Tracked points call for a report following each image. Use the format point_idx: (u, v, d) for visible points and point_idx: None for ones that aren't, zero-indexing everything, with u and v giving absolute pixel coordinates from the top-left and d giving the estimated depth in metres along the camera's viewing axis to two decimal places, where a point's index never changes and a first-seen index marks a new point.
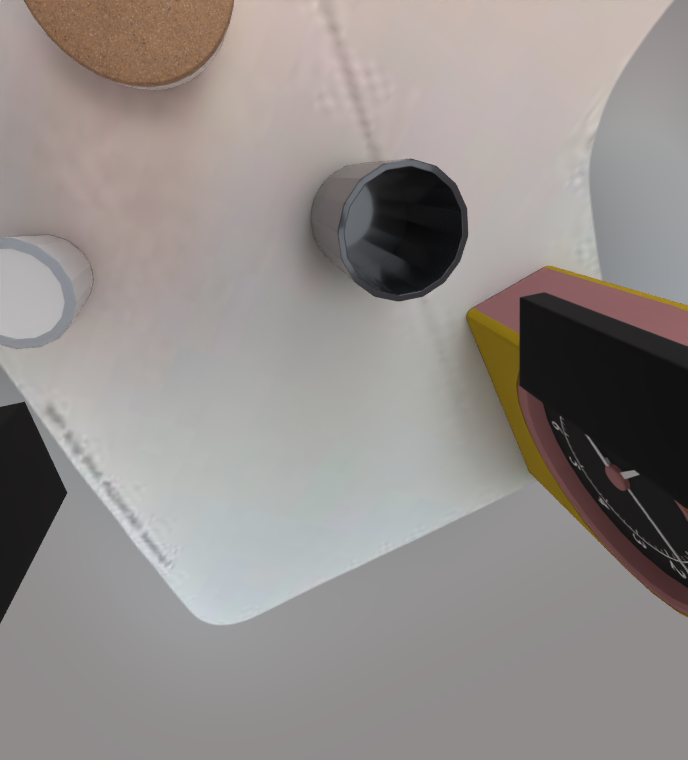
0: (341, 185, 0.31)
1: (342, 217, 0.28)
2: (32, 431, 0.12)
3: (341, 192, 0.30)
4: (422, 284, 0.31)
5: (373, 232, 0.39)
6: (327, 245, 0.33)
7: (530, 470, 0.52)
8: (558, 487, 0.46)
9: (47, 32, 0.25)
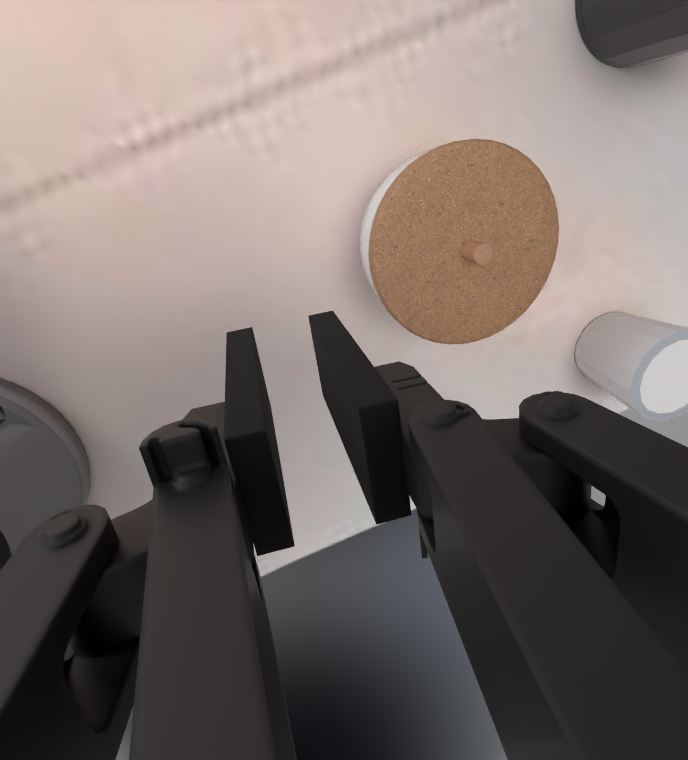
0: (681, 15, 0.25)
1: None
2: (257, 351, 0.15)
3: None
4: None
5: None
6: None
7: None
8: None
9: (513, 321, 0.29)
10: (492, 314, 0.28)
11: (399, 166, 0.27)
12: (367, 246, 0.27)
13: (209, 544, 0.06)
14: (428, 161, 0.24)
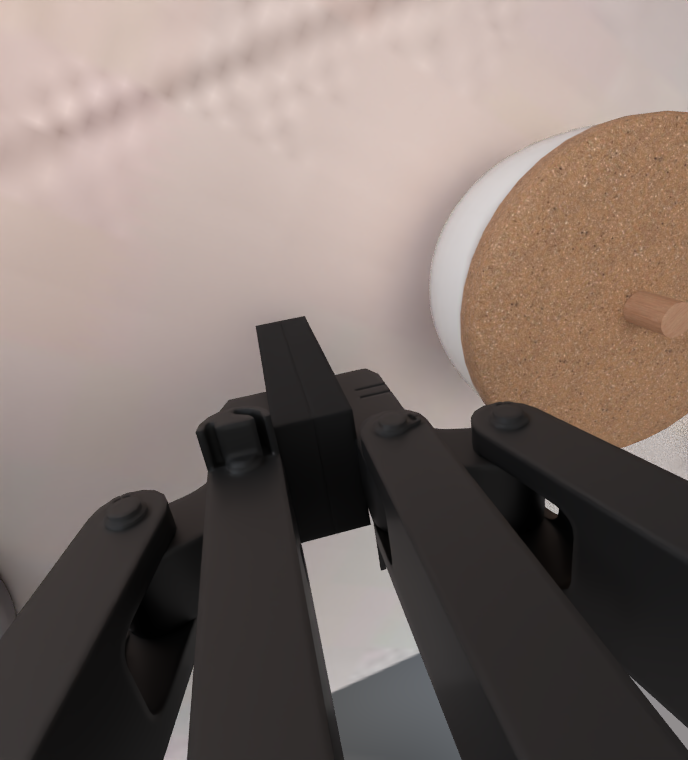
0: None
1: None
2: None
3: None
4: None
5: None
6: None
7: None
8: None
9: (684, 415, 0.18)
10: (656, 407, 0.17)
11: (509, 161, 0.16)
12: (455, 298, 0.16)
13: (262, 529, 0.07)
14: (586, 151, 0.13)
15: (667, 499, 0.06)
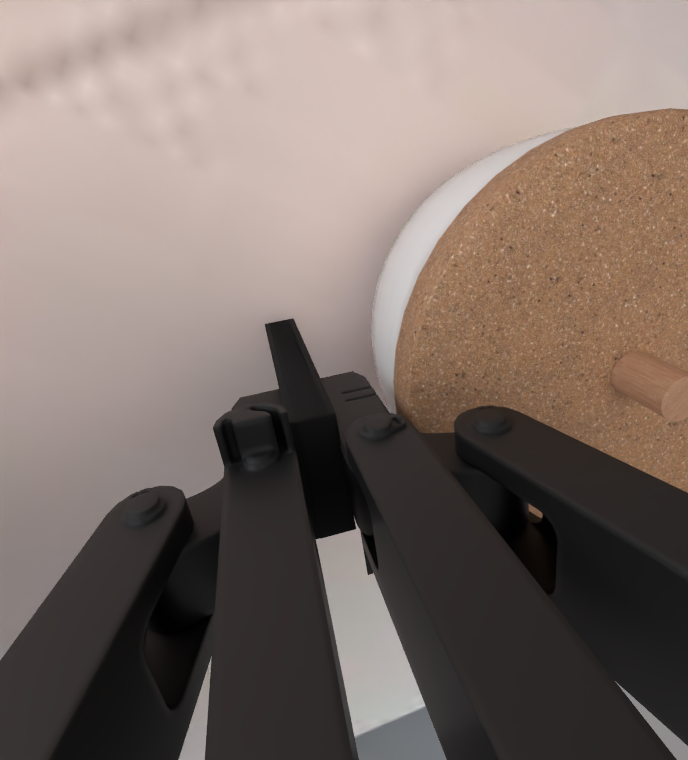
0: None
1: None
2: None
3: None
4: None
5: None
6: None
7: None
8: None
9: None
10: None
11: (460, 177, 0.12)
12: (390, 358, 0.12)
13: (279, 526, 0.07)
14: (554, 168, 0.09)
15: (649, 503, 0.06)
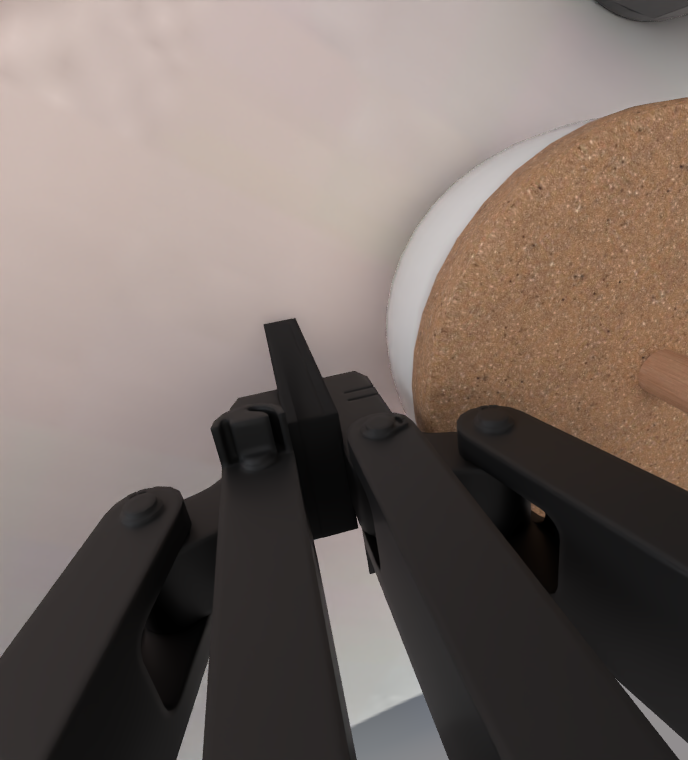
0: None
1: None
2: None
3: None
4: None
5: None
6: None
7: None
8: None
9: None
10: None
11: (476, 173, 0.12)
12: (407, 361, 0.12)
13: (276, 526, 0.07)
14: (577, 161, 0.09)
15: (651, 503, 0.06)
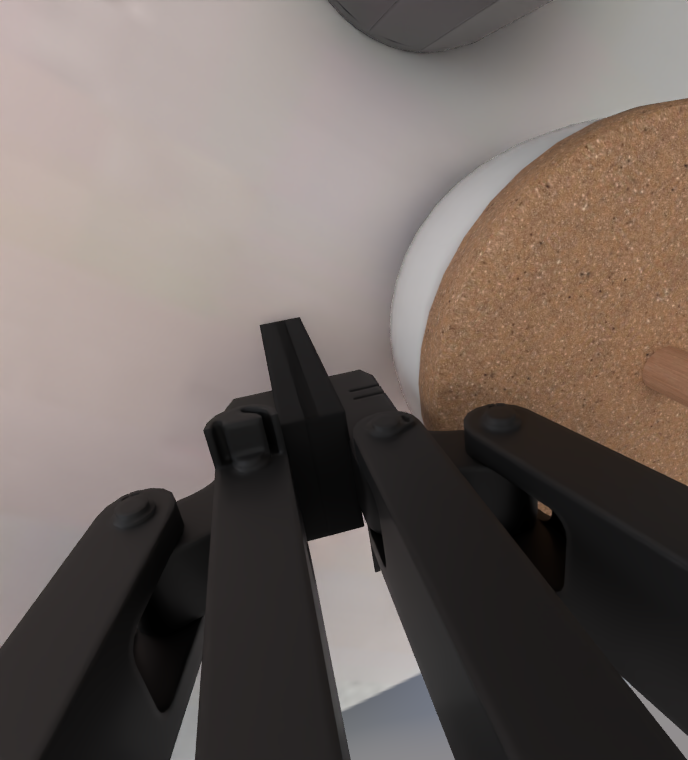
0: None
1: None
2: None
3: None
4: None
5: None
6: None
7: None
8: None
9: None
10: None
11: (482, 172, 0.12)
12: (414, 359, 0.12)
13: (270, 527, 0.07)
14: (585, 160, 0.09)
15: (659, 501, 0.06)
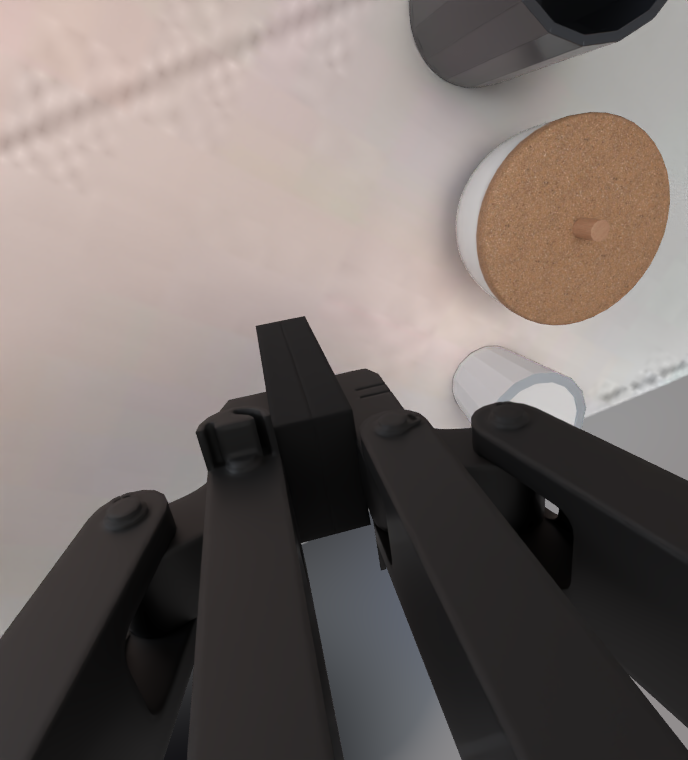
0: (485, 36, 0.22)
1: (565, 36, 0.19)
2: None
3: (506, 36, 0.21)
4: None
5: None
6: (550, 64, 0.24)
7: None
8: None
9: (618, 300, 0.28)
10: (599, 293, 0.27)
11: (503, 144, 0.26)
12: (473, 227, 0.26)
13: (262, 529, 0.07)
14: (544, 136, 0.24)
15: (666, 499, 0.06)
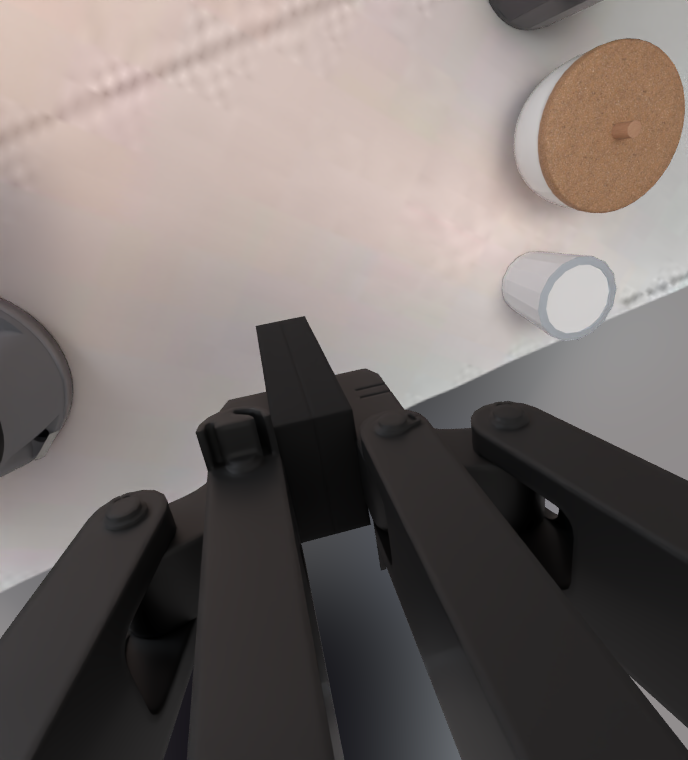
0: None
1: None
2: None
3: None
4: None
5: None
6: (597, 1, 0.31)
7: None
8: None
9: (644, 193, 0.36)
10: (630, 186, 0.35)
11: (557, 69, 0.34)
12: (534, 132, 0.34)
13: (262, 529, 0.07)
14: (593, 56, 0.32)
15: (667, 499, 0.06)
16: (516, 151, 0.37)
